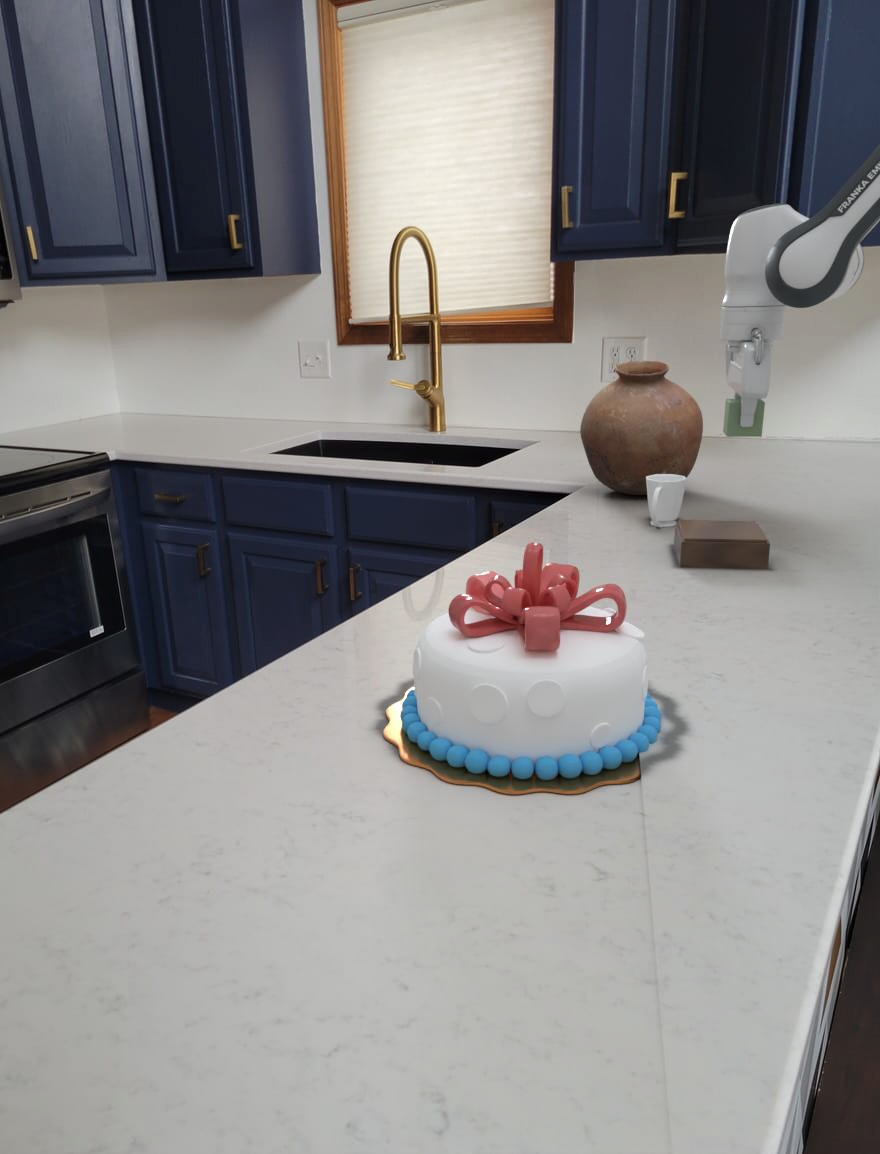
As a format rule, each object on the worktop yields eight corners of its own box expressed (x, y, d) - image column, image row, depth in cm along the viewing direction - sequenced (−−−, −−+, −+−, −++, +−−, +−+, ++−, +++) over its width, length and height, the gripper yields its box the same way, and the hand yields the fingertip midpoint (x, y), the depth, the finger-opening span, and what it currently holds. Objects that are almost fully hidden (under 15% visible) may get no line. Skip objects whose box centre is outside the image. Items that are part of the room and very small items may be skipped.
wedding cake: (581, 653, 109) (587, 497, 103) (743, 757, 85) (764, 561, 78) (347, 693, 101) (338, 526, 94) (452, 822, 76) (450, 608, 70)
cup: (688, 521, 166) (692, 475, 163) (673, 534, 158) (676, 486, 155) (648, 517, 169) (651, 472, 167) (631, 530, 161) (634, 483, 159)
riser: (754, 552, 147) (757, 520, 145) (766, 574, 136) (770, 540, 134) (673, 550, 149) (675, 519, 147) (679, 572, 138) (681, 538, 136)
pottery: (654, 477, 203) (662, 355, 194) (722, 498, 182) (734, 362, 173) (558, 487, 196) (561, 361, 187) (616, 510, 175) (623, 369, 167)
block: (757, 431, 147) (760, 398, 145) (761, 436, 142) (765, 402, 140) (723, 431, 148) (725, 398, 146) (726, 436, 143) (729, 402, 141)
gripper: (786, 330, 129) (775, 433, 134) (764, 323, 148) (756, 414, 153) (737, 331, 131) (728, 433, 135) (721, 324, 149) (714, 414, 154)
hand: (743, 423), depth 144 cm, fingers closed on block, 5 cm apart
